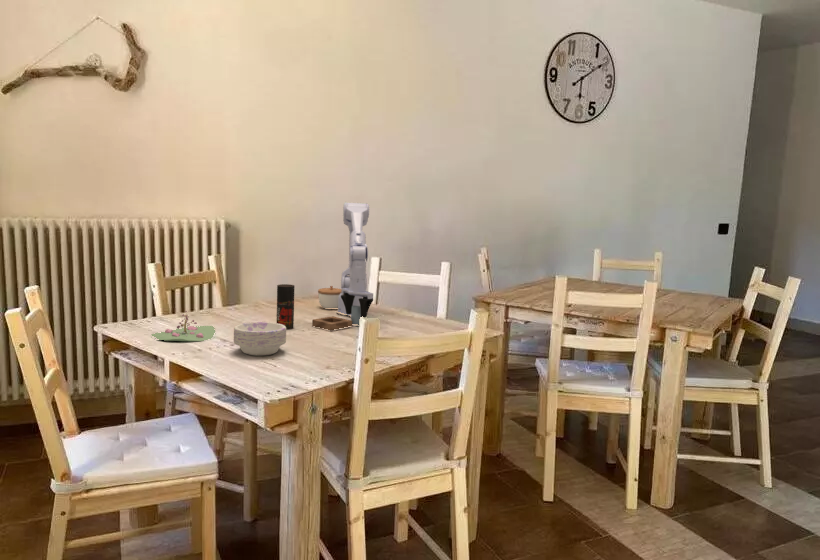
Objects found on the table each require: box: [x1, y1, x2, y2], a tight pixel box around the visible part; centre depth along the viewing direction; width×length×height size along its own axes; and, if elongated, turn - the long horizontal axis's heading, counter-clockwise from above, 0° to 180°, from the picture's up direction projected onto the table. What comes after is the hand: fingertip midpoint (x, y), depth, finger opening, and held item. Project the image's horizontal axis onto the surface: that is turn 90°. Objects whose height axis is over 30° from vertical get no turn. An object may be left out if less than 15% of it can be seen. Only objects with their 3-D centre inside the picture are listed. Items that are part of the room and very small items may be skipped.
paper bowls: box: [233, 321, 287, 357], centre depth 188 cm, size 15×15×8 cm
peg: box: [350, 306, 361, 325], centre depth 231 cm, size 4×4×7 cm
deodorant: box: [276, 283, 295, 331], centre depth 221 cm, size 6×6×15 cm
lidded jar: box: [317, 285, 342, 308], centre depth 260 cm, size 11×11×9 cm
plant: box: [150, 310, 216, 342], centre depth 206 cm, size 25×21×9 cm
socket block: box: [311, 315, 353, 330], centre depth 227 cm, size 10×10×2 cm
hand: (356, 315), depth 231 cm, fingers open, 7 cm apart
